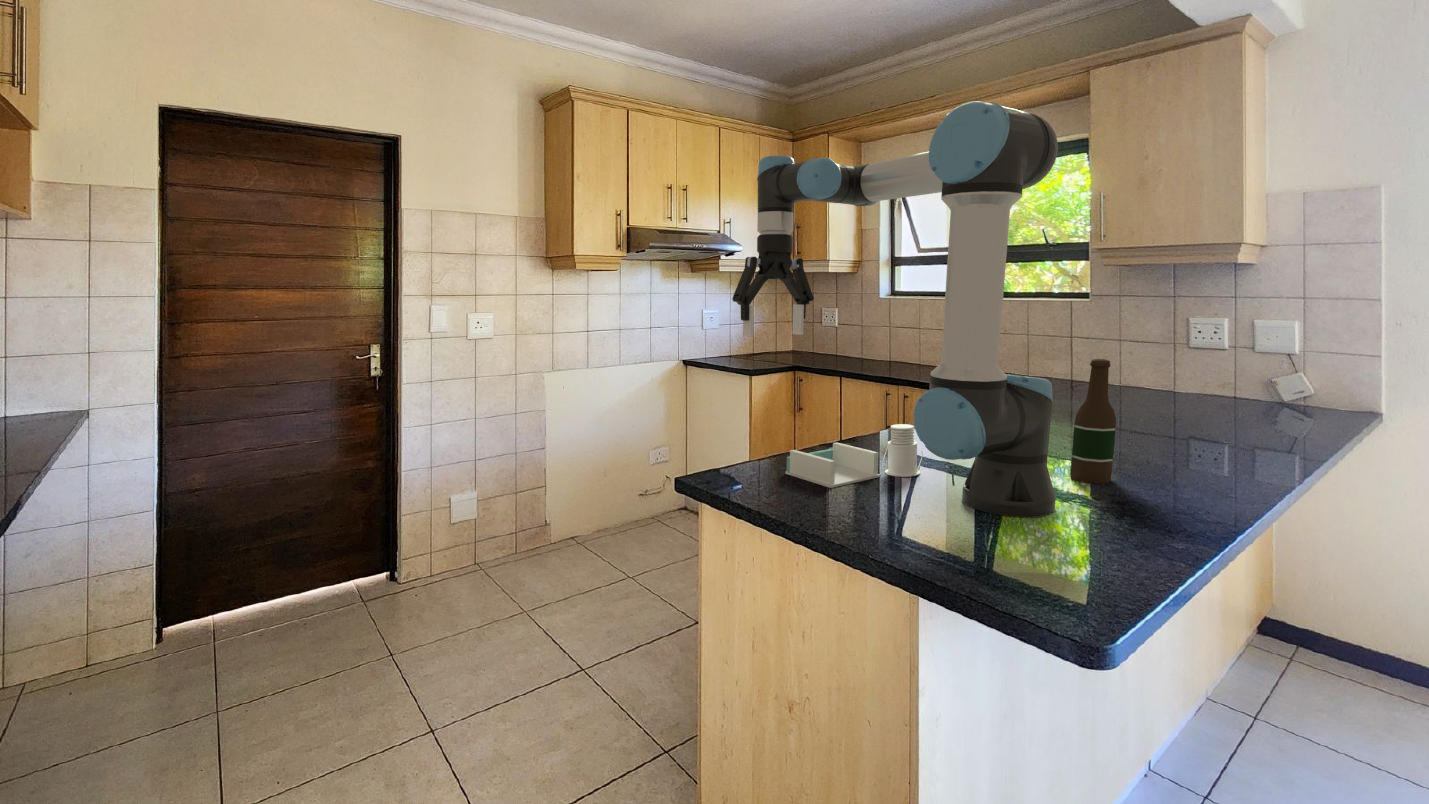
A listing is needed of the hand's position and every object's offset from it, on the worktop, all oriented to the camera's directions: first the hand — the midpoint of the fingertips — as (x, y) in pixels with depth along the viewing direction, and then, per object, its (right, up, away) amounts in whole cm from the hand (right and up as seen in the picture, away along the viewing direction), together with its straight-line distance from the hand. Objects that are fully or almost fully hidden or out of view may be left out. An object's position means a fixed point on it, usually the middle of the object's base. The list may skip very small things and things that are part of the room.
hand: (773, 335), depth 151 cm
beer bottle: (+63, -30, -10) cm, 70 cm away
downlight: (+26, -29, -6) cm, 39 cm away
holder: (+11, -29, -8) cm, 32 cm away
